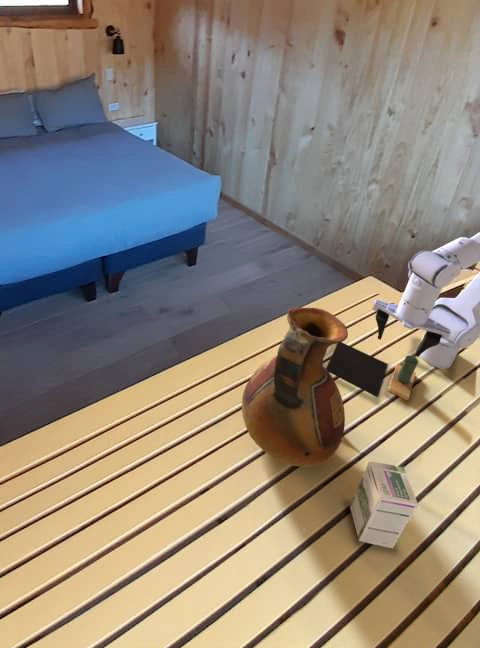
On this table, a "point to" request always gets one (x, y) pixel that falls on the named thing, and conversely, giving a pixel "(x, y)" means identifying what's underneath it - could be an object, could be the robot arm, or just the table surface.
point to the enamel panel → (357, 368)
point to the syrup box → (382, 504)
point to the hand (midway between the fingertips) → (398, 344)
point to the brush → (403, 378)
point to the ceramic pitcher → (298, 393)
